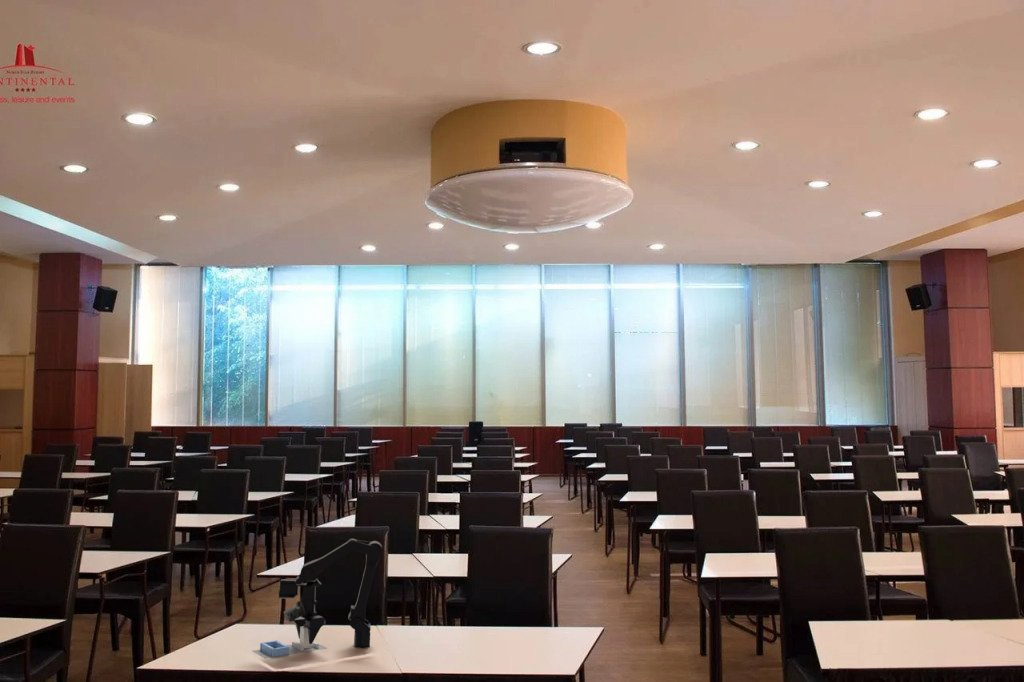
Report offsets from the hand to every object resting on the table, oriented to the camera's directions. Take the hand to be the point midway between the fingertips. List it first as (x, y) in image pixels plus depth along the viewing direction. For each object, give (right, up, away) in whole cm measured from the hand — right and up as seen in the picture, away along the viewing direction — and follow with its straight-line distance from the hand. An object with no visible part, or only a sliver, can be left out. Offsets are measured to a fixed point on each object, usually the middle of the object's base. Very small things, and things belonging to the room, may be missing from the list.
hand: (305, 641), depth 313 cm
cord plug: (0, -2, 0) cm, 2 cm away
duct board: (-5, -3, -4) cm, 7 cm away
